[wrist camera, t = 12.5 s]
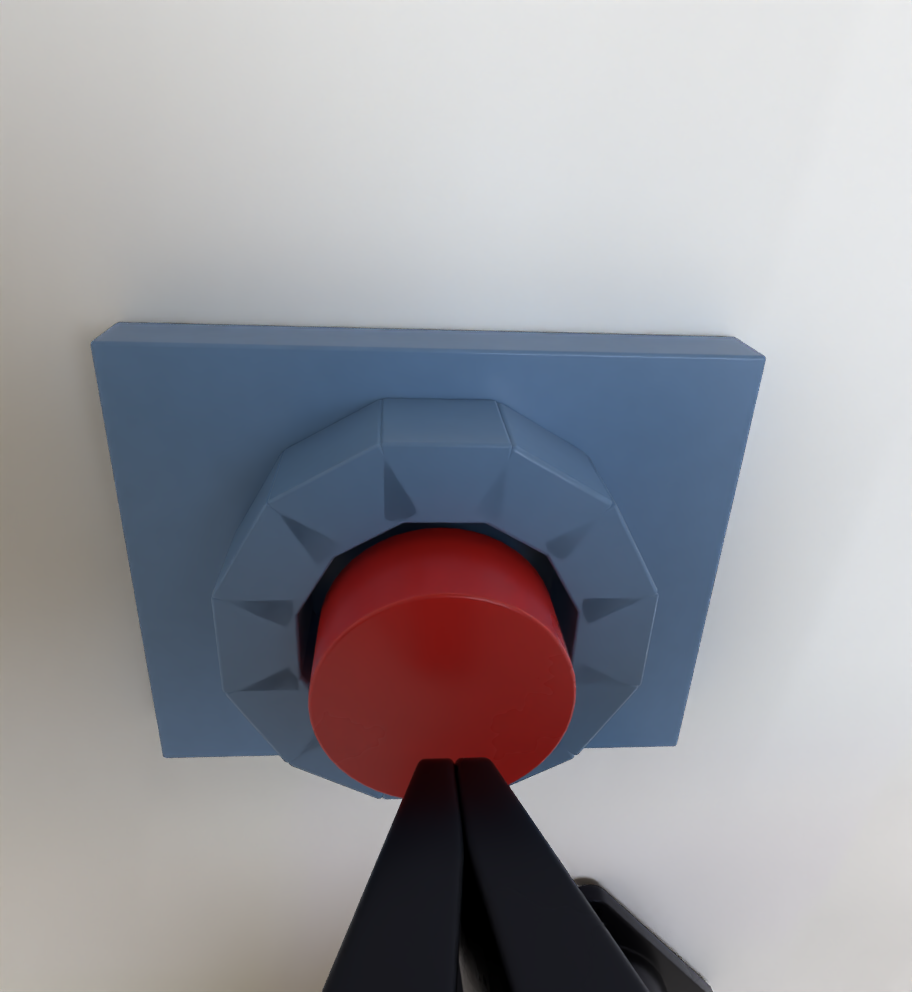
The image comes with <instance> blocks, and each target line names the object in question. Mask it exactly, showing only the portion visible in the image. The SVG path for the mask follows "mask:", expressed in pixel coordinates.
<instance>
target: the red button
mask: <svg viewBox="0 0 912 992" xmlns="http://www.w3.org/2000/svg"><path fill="white" fill-rule="evenodd" d="M575 703H576V679H575V673H574V670H573V666H572V662H571V659H570V656H569V653H568V650H567V647H566V644H565V641H564V638H563V635H562V632H561V629H560V625H559V622H558V619H557V616H556V613H555V610H554V607H553V604H552V601H551V598H550V595H549V592H548V590H547V588H546V585H545V583H544V581H543V579H542V578H541V577H540V575H539V574H538V572H537V571H536V569H535V568H534V567H533V566H532V565H531V564H530V563H529V562H528V560H527V559H525V558H524V557H523V556H522V555H521V554H519V553H518V552H517V551H516V550H514V549H513V548H511V547H509V546H508V545H506V544H504V543H503V542H501V541H498V540H496V539H494V538H492V537H490V536H487V535H484V534H480V533H477V532H474V531H469V530H463V529H457V528H425V529H419V530H413V531H408V532H405V533H401V534H398V535H394V536H392V537H389V538H387V539H385V540H382V541H380V542H378V543H376V544H375V545H373V546H371V547H369V548H368V549H366V550H365V551H363V552H362V553H361V554H359V555H358V556H357V557H355V558H354V559H353V560H352V561H351V562H350V563H349V564H348V565H347V566H346V567H345V568H344V569H343V570H342V571H341V572H340V573H339V575H338V576H337V577H336V579H335V580H334V581H333V583H332V585H331V586H330V588H329V590H328V592H327V594H326V597H325V599H324V602H323V605H322V608H321V613H320V619H319V625H318V632H317V638H316V645H315V652H314V659H313V665H312V672H311V679H310V685H309V692H308V710H309V717H310V722H311V725H312V728H313V731H314V734H315V736H316V738H317V740H318V742H319V744H320V746H321V748H322V749H323V750H324V752H325V753H326V754H327V756H328V757H329V759H330V760H331V761H332V762H333V763H334V764H335V765H336V766H337V767H338V768H339V769H341V770H342V771H343V772H344V773H346V774H347V775H348V776H349V777H351V778H352V779H354V780H356V781H357V782H359V783H361V784H362V785H364V786H367V787H369V788H371V789H373V790H375V791H378V792H381V793H384V794H387V795H390V796H394V797H398V798H403V797H404V795H405V792H406V790H407V787H408V785H409V783H410V780H411V778H412V776H413V773H414V771H415V768H416V766H417V764H418V762H419V761H420V760H422V759H428V758H450V759H452V760H453V762H454V764H455V762H456V760H457V759H459V758H469V757H487V758H488V759H490V760H491V761H492V762H493V763H494V765H495V766H496V768H497V769H498V771H499V772H500V774H501V775H502V777H503V778H504V779H505V781H506V782H507V784H508V785H509V784H511V783H513V782H515V781H517V780H519V779H520V778H522V777H523V776H525V775H527V774H528V773H530V772H531V771H532V770H533V769H535V768H536V767H537V766H538V765H540V764H541V763H542V762H543V761H544V760H545V759H546V758H547V757H548V756H549V755H550V754H551V753H552V752H553V750H554V749H555V748H556V746H557V745H558V744H559V743H560V741H561V739H562V738H563V736H564V734H565V732H566V731H567V729H568V726H569V724H570V721H571V719H572V716H573V711H574V707H575Z"/></svg>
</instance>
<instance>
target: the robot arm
mask: <svg viewBox="0 0 912 992" xmlns="http://www.w3.org/2000/svg"><path fill="white" fill-rule="evenodd" d="M322 992H713V991H712V989H711V987H710V986H709V985H708V984H707V983H706V982H705V981H704V980H703V979H702V978H701V977H700V976H698V975H697V974H696V973H695V972H694V971H693V970H692V969H691V968H690V967H689V966H687V965H686V964H685V963H684V962H683V961H682V960H681V959H680V958H679V957H678V956H676V955H675V954H674V953H673V952H672V951H671V950H670V949H669V948H668V947H667V946H665V945H664V944H663V943H662V942H661V941H660V940H659V939H658V938H657V937H656V936H654V935H653V934H652V933H651V932H650V931H649V930H648V929H647V928H646V927H645V926H643V925H642V924H641V923H640V922H639V921H638V920H637V919H636V918H635V917H634V916H632V915H631V914H630V913H629V912H628V911H627V910H626V909H625V908H624V907H623V906H621V905H620V904H619V903H618V902H617V901H616V900H615V899H614V898H613V897H612V896H610V895H609V894H608V893H607V892H606V891H605V890H604V889H602V888H601V887H599V886H596V885H582V886H580V887H578V886H577V885H576V883H575V882H574V881H573V879H572V878H571V876H570V875H569V873H568V872H567V870H566V869H565V867H564V866H563V864H562V863H561V861H560V860H559V859H558V857H557V856H556V854H555V853H554V851H553V850H552V848H551V847H550V845H549V844H548V842H547V841H546V840H545V838H544V837H543V835H542V834H541V832H540V831H539V829H538V828H537V826H536V825H535V823H534V822H533V820H532V819H531V818H530V816H529V815H528V813H527V812H526V810H525V809H524V807H523V806H522V804H521V803H520V801H519V800H518V799H517V797H516V796H515V794H514V793H513V791H512V790H511V788H510V787H509V785H508V784H507V782H506V781H505V779H504V778H503V777H502V775H501V774H500V772H499V771H498V769H497V768H496V766H495V765H494V763H493V762H492V761H491V760H490V759H488V758H487V757H469V758H459V759H457V760H456V762H455V764H454V762H453V760H452V759H450V758H428V759H422V760H420V761H419V762H418V764H417V766H416V768H415V771H414V773H413V776H412V778H411V780H410V783H409V785H408V787H407V790H406V792H405V795H404V797H403V799H402V802H401V804H400V807H399V809H398V811H397V814H396V816H395V818H394V821H393V823H392V826H391V828H390V830H389V833H388V835H387V838H386V840H385V842H384V845H383V847H382V849H381V852H380V854H379V857H378V859H377V861H376V864H375V866H374V868H373V871H372V873H371V876H370V878H369V880H368V883H367V885H366V888H365V890H364V892H363V895H362V897H361V899H360V902H359V904H358V907H357V909H356V911H355V914H354V916H353V919H352V921H351V923H350V926H349V928H348V930H347V933H346V935H345V938H344V940H343V942H342V945H341V947H340V949H339V952H338V954H337V957H336V959H335V961H334V964H333V966H332V969H331V971H330V973H329V976H328V978H327V980H326V983H325V985H324V988H323V990H322Z"/></svg>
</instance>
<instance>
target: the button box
mask: <svg viewBox="0 0 912 992" xmlns="http://www.w3.org/2000/svg"><path fill="white" fill-rule="evenodd" d="M91 350H92V356H93V362H94V367H95V373H96V379H97V384H98V390H99V396H100V401H101V407H102V413H103V418H104V424H105V430H106V435H107V441H108V447H109V452H110V458H111V464H112V469H113V475H114V481H115V486H116V492H117V498H118V503H119V509H120V515H121V520H122V526H123V532H124V537H125V543H126V549H127V554H128V560H129V566H130V571H131V577H132V583H133V588H134V594H135V600H136V605H137V611H138V617H139V622H140V628H141V634H142V639H143V645H144V651H145V656H146V662H147V668H148V673H149V679H150V685H151V690H152V696H153V702H154V707H155V713H156V719H157V724H158V730H159V736H160V741H161V747H162V753H163V757H165V758H184V757H227V756H270V755H280V756H281V758H282V759H283V760H284V761H285V762H289V764H290V765H291V766H293V767H296V768H299V769H301V770H304V771H306V772H309V773H312V774H314V775H317V776H320V777H322V778H325V779H327V780H330V781H333V782H335V783H338V784H340V785H343V786H346V787H348V788H351V789H354V790H356V791H359V792H361V793H364V794H367V795H369V796H372V797H375V798H377V799H380V798H382V797H383V798H384V799H403V798H398V797H394V796H390V795H387V794H384V793H381V792H378V791H375V790H373V789H371V788H369V787H367V786H364V785H362V784H361V783H359V782H357V781H356V780H354V779H352V778H351V777H349V776H348V775H347V774H346V773H344V772H343V771H342V770H341V769H339V768H338V767H337V766H336V765H335V764H334V763H333V762H332V761H331V760H330V759H329V757H328V756H327V754H326V753H325V752H324V750H323V749H322V748H321V746H320V744H319V742H318V740H317V738H316V736H315V734H314V731H313V728H312V725H311V722H310V717H309V710H308V692H309V685H310V679H311V672H312V665H313V659H314V652H315V645H316V638H317V632H318V625H319V619H320V613H321V608H322V605H323V602H324V599H325V597H326V594H327V592H328V590H329V588H330V586H331V585H332V583H333V581H334V580H335V579H336V577H337V576H338V575H339V573H340V572H341V571H342V570H343V569H344V568H345V567H346V566H347V565H348V564H349V563H350V562H351V561H352V560H353V559H354V558H355V557H357V556H358V555H359V554H361V553H362V552H363V551H365V550H366V549H368V548H369V547H371V546H373V545H375V544H376V543H378V542H380V541H382V540H385V539H387V538H389V537H392V536H394V535H398V534H401V533H405V532H408V531H413V530H419V529H425V528H457V529H463V530H469V531H474V532H477V533H480V534H484V535H487V536H490V537H492V538H494V539H496V540H498V541H501V542H503V543H504V544H506V545H508V546H509V547H511V548H513V549H514V550H516V551H517V552H518V553H519V554H521V555H522V556H523V557H524V558H525V559H527V560H528V562H529V563H530V564H531V565H532V566H533V567H534V568H535V569H536V571H537V572H538V574H539V575H540V577H541V578H542V579H543V581H544V583H545V585H546V588H547V590H548V592H549V595H550V598H551V601H552V604H553V607H554V610H555V613H556V616H557V619H558V622H559V625H560V629H561V632H562V635H563V638H564V641H565V644H566V647H567V650H568V653H569V656H570V659H571V662H572V666H573V670H574V673H575V679H576V703H575V707H574V711H573V716H572V719H571V721H570V724H569V726H568V729H567V731H566V732H565V734H564V736H563V738H562V739H561V741H560V743H559V744H558V745H557V746H556V748H555V749H554V750H553V752H552V753H551V754H550V755H549V756H548V757H547V758H546V759H545V760H544V761H543V762H542V763H541V764H540V765H538V766H537V767H536V768H535V769H533V770H532V771H531V772H530V773H528V774H527V775H525V776H523V777H522V778H520V779H519V780H517V781H515V782H513V783H511V784H509V786H510V785H512V784H515V783H517V782H519V781H522V780H524V779H526V778H529V777H531V776H533V775H536V774H538V773H540V772H543V771H545V770H547V769H550V768H552V767H554V766H556V765H559V764H561V763H563V762H566V761H568V760H570V759H572V758H573V757H574V755H577V754H579V753H580V752H581V751H582V750H583V748H614V747H657V746H676V745H677V741H678V736H679V732H680V728H681V724H682V719H683V715H684V711H685V706H686V702H687V698H688V693H689V689H690V685H691V680H692V676H693V672H694V667H695V663H696V659H697V654H698V650H699V646H700V641H701V637H702V633H703V628H704V624H705V620H706V616H707V611H708V607H709V603H710V598H711V594H712V590H713V585H714V581H715V577H716V572H717V568H718V564H719V559H720V555H721V551H722V546H723V542H724V538H725V533H726V529H727V525H728V520H729V516H730V512H731V508H732V503H733V499H734V495H735V490H736V486H737V482H738V477H739V473H740V469H741V464H742V460H743V456H744V451H745V447H746V443H747V438H748V434H749V430H750V425H751V421H752V417H753V412H754V408H755V404H756V400H757V395H758V391H759V387H760V382H761V378H762V374H763V369H764V365H765V361H766V359H765V356H764V355H762V354H761V353H759V352H757V351H756V350H754V349H753V348H751V347H750V346H748V345H747V344H745V343H743V342H742V341H740V340H739V339H737V338H735V337H714V336H672V335H630V334H589V333H547V332H505V331H464V330H422V329H381V328H339V327H297V326H256V325H214V324H172V323H131V322H118V323H116V324H115V325H113V326H112V327H111V328H109V329H108V330H106V331H105V332H104V333H102V334H101V335H100V336H98V337H97V338H96V339H94V340H93V341H92V342H91Z"/></svg>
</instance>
